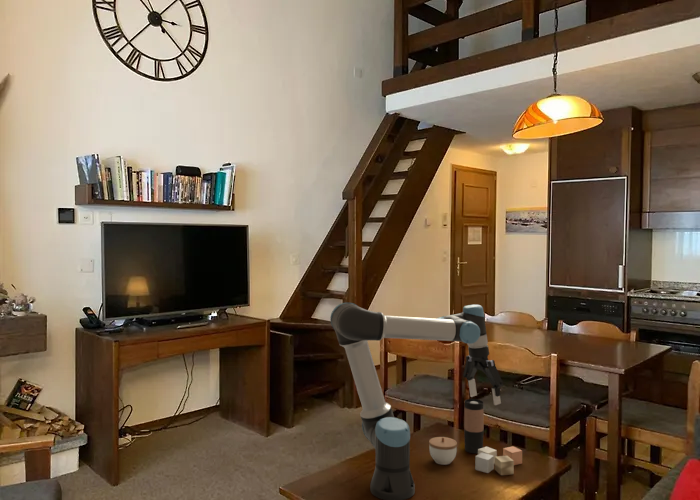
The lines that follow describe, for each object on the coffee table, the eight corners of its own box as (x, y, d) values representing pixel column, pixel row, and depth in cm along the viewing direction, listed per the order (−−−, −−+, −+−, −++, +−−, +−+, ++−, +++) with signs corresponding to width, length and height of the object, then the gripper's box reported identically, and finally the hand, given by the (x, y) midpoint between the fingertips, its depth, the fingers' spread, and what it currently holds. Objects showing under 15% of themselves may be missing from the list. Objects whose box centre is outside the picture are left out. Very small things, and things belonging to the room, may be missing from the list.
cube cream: (488, 466, 208) (488, 453, 208) (477, 462, 212) (477, 449, 212) (496, 463, 211) (496, 450, 211) (486, 458, 215) (486, 446, 215)
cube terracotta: (512, 465, 208) (512, 452, 208) (503, 461, 213) (503, 448, 213) (522, 463, 210) (522, 450, 210) (513, 458, 215) (513, 446, 215)
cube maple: (500, 475, 200) (501, 461, 200) (494, 469, 205) (494, 456, 205) (513, 474, 201) (513, 460, 201) (507, 468, 206) (507, 455, 206)
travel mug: (460, 448, 225) (460, 400, 225) (475, 445, 229) (475, 397, 228) (471, 455, 218) (472, 405, 218) (487, 451, 222) (487, 402, 221)
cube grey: (487, 473, 202) (487, 459, 202) (475, 469, 205) (475, 456, 205) (493, 469, 205) (493, 455, 205) (481, 465, 209) (481, 452, 209)
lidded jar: (455, 456, 217) (455, 433, 217) (458, 467, 206) (458, 443, 206) (428, 455, 218) (428, 432, 218) (429, 466, 207) (429, 442, 207)
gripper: (508, 348, 199) (516, 404, 200) (464, 339, 221) (471, 390, 222) (492, 352, 195) (500, 410, 197) (450, 343, 218) (457, 395, 219)
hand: (485, 400), depth 209 cm, fingers open, 13 cm apart
